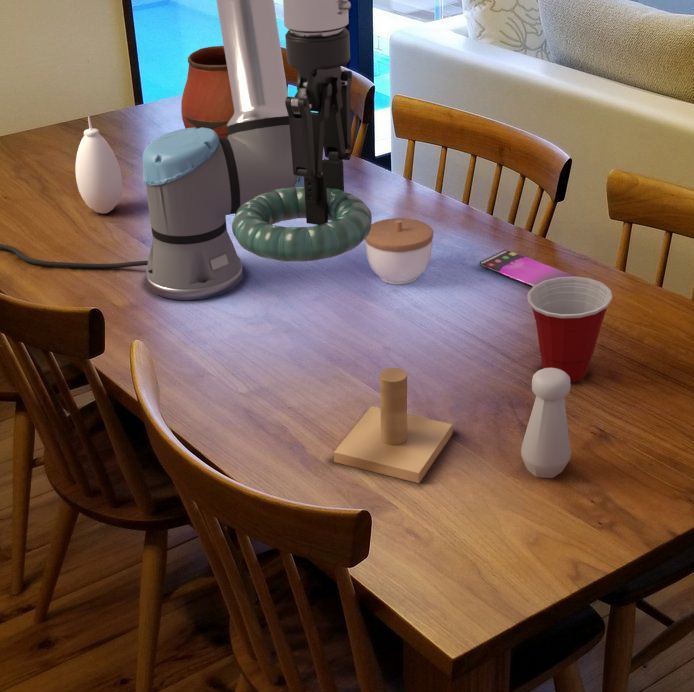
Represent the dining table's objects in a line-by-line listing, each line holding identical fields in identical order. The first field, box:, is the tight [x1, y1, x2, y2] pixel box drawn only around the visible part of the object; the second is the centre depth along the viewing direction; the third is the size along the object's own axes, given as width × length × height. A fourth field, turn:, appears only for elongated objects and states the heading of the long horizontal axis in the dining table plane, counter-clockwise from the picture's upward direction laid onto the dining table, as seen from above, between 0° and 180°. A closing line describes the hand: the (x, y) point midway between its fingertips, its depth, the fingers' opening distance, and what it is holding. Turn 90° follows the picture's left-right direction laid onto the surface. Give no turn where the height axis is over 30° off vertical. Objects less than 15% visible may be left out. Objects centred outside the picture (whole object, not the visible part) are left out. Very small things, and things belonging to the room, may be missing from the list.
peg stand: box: [333, 367, 454, 484], centre depth 128 cm, size 11×11×10 cm
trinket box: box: [364, 217, 434, 286], centre depth 168 cm, size 11×11×9 cm
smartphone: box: [478, 249, 578, 287], centre depth 170 cm, size 7×15×1 cm, turn 45°
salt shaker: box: [520, 368, 572, 479], centre depth 123 cm, size 6×6×13 cm
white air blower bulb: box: [74, 115, 123, 215], centre depth 193 cm, size 8×8×18 cm
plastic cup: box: [526, 275, 613, 384], centre depth 141 cm, size 11×11×12 cm
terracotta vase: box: [180, 45, 234, 138], centre depth 199 cm, size 19×19×25 cm
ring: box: [231, 186, 373, 263], centre depth 132 cm, size 17×17×4 cm
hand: (325, 216), depth 137 cm, fingers closed on ring, 4 cm apart
